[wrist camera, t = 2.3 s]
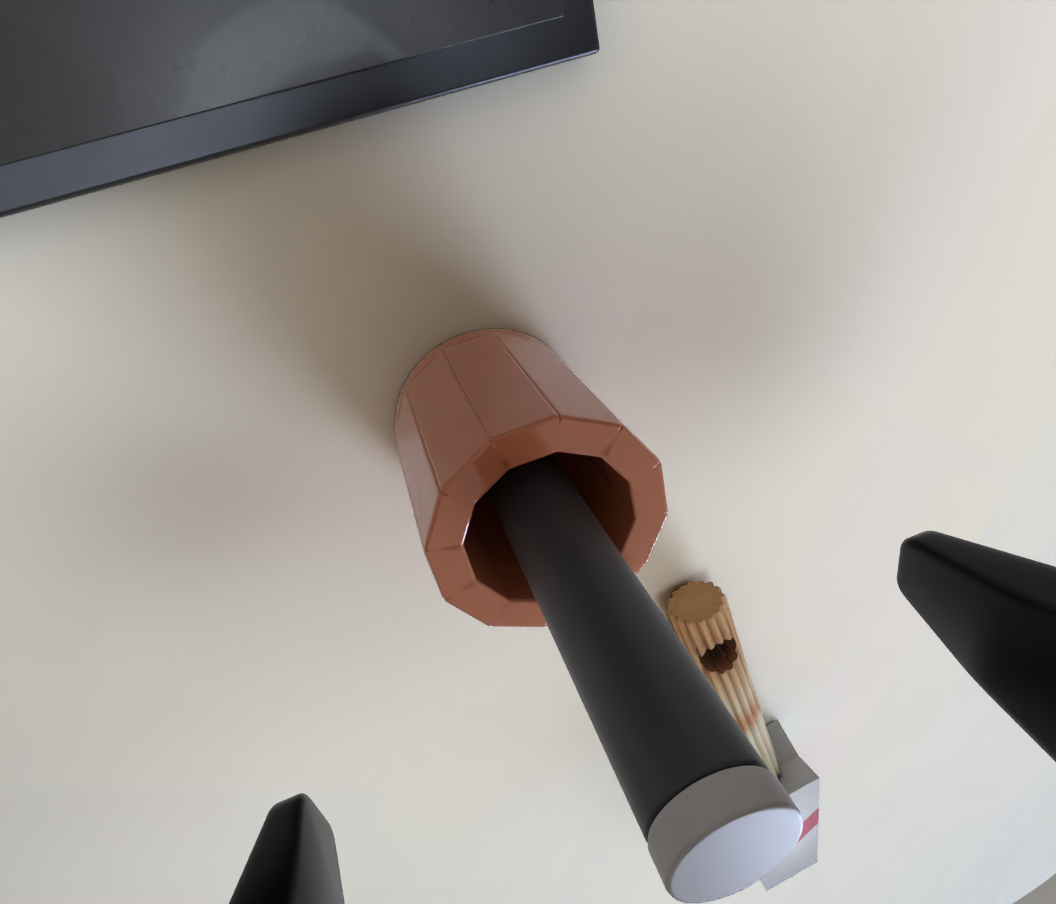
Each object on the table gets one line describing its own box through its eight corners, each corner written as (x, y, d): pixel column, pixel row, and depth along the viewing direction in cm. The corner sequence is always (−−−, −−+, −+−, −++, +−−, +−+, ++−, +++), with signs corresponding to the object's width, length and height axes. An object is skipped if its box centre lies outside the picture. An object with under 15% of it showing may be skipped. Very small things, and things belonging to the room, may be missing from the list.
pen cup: (428, 520, 17) (468, 660, 13) (366, 364, 14) (391, 475, 10) (588, 460, 17) (677, 576, 13) (555, 302, 15) (651, 381, 11)
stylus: (470, 464, 16) (675, 925, 7) (451, 408, 15) (658, 854, 6) (531, 442, 16) (804, 862, 7) (517, 385, 15) (806, 783, 6)
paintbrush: (774, 930, 29) (663, 658, 19) (740, 870, 31) (626, 599, 21) (848, 889, 29) (777, 598, 19) (809, 832, 32) (728, 546, 21)
